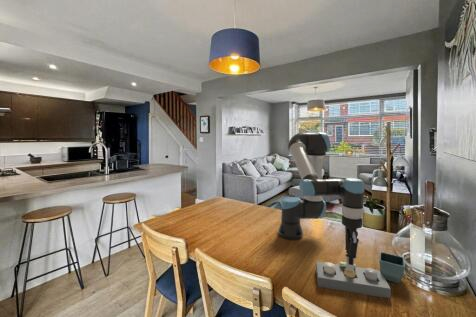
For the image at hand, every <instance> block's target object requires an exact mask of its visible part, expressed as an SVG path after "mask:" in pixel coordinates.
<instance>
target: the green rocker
mask: <svg viewBox="0 0 476 317" xmlns="http://www.w3.org/2000/svg"><path fill="white" fill-rule="evenodd" d="M339 265H340V267H345V268H346V261H339ZM356 267H357V265H356V263H354V269H355V268H356Z"/></svg>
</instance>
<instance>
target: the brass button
mask: <svg viewBox="0 0 476 317" xmlns="http://www.w3.org/2000/svg"><path fill="white" fill-rule="evenodd" d="M344 276H346V277H352V278H356V272H355V271H354V272H353V271H347V270H346V268H345V269H344Z"/></svg>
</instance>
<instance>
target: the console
mask: <svg viewBox="0 0 476 317" xmlns="http://www.w3.org/2000/svg"><path fill="white" fill-rule="evenodd" d="M324 263H325V262H324V261H323V262H322V261H315V272H316V273H315V274H316V280H317V287H319V288H326V289H332V290H337V291H344V292H349V293H357V294H361V295H367V296H373V297H379V298H385V299H391V294H392V289H391V287H390V284H389V283H388V282H387V281H388V280H386V279H385V278H384V277H383V275H382V273H381V272H380V269H379V270H378V269H375V270H376V271H377V272H378V276H377V281H372V280H366V278H365V269H366V268H367V267H358V266H356V268H355V269H354V271H355V272H356V278H352V277H346V276H344V269H345V267H340V263H339V264H338V263H333V264H334V265H335V275H333V274H326V273H324Z"/></svg>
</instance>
